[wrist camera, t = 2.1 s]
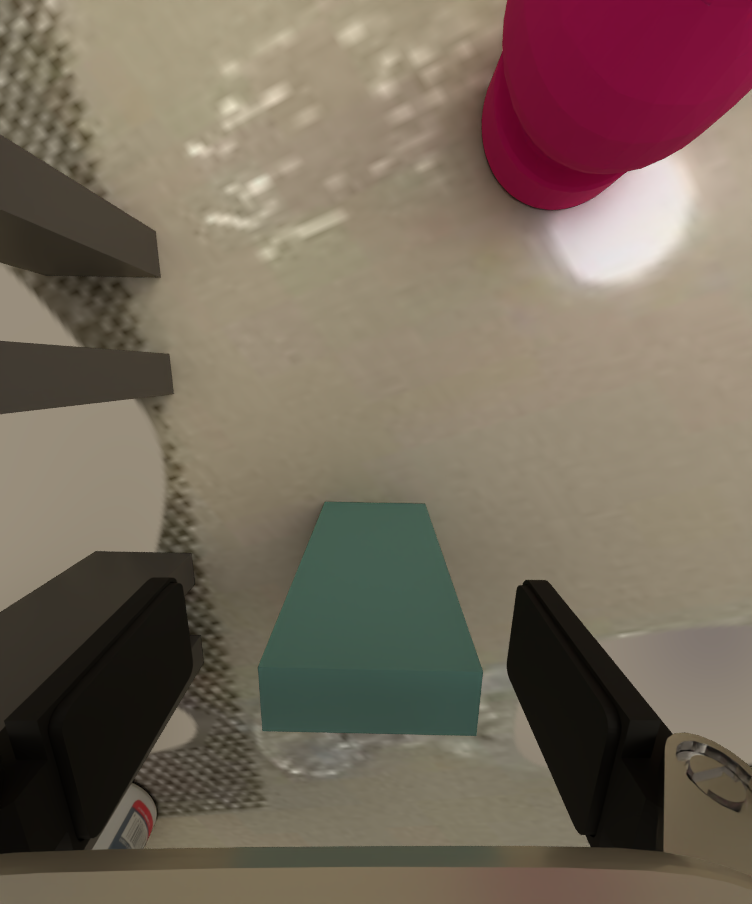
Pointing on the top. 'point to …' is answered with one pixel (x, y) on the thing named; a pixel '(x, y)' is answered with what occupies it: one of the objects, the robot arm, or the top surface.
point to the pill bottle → (129, 822)
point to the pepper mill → (608, 89)
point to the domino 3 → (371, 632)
